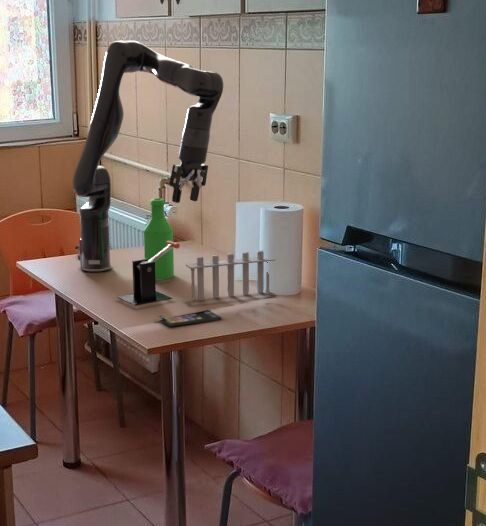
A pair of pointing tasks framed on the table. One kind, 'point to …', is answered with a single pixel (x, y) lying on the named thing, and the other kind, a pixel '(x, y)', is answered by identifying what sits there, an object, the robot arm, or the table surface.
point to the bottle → (159, 240)
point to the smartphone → (190, 318)
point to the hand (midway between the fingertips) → (184, 201)
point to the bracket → (144, 284)
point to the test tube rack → (229, 273)
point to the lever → (162, 252)
